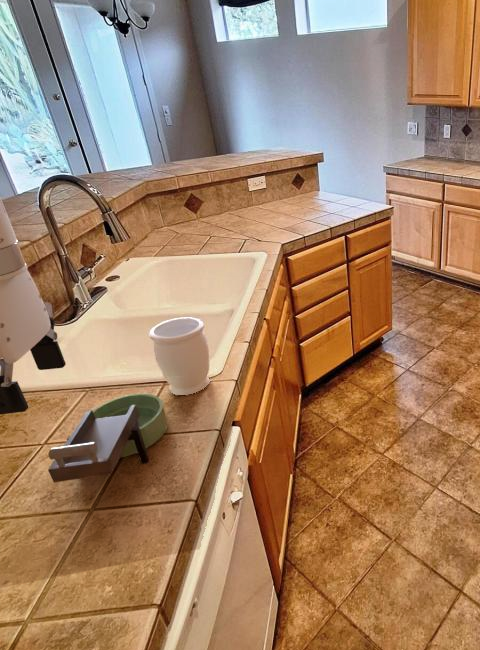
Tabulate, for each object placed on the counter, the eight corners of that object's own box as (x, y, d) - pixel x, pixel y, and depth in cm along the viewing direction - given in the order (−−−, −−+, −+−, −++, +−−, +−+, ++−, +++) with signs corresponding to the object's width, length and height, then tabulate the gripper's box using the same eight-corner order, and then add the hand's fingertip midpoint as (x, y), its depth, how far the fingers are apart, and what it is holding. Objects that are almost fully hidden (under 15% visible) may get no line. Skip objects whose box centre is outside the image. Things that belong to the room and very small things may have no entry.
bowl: (76, 466, 75) (67, 444, 73) (105, 418, 87) (97, 398, 85) (158, 454, 78) (152, 432, 76) (175, 409, 90) (170, 389, 88)
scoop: (52, 484, 64) (38, 454, 61) (91, 421, 76) (81, 394, 74) (110, 475, 65) (99, 446, 63) (139, 415, 78) (131, 389, 75)
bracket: (80, 473, 74) (66, 439, 71) (82, 468, 75) (69, 435, 72) (147, 463, 76) (137, 429, 73) (149, 458, 77) (138, 426, 74)
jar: (199, 367, 104) (186, 312, 98) (224, 382, 99) (213, 324, 92) (155, 388, 96) (138, 329, 90) (180, 405, 91) (165, 344, 84)
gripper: (-12, 243, 55) (35, 357, 62) (-126, 295, 40) (-47, 438, 47) (55, 240, 57) (93, 351, 64) (-31, 288, 41) (32, 427, 49)
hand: (34, 388), depth 55 cm, fingers open, 9 cm apart
